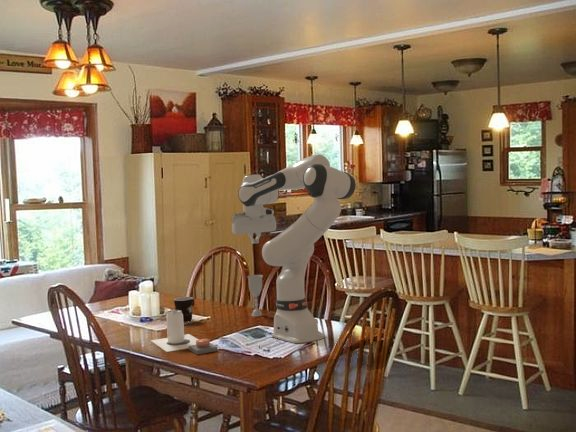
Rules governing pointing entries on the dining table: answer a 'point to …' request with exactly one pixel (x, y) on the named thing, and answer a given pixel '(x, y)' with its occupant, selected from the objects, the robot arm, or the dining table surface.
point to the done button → (202, 342)
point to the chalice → (255, 291)
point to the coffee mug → (185, 307)
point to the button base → (203, 349)
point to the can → (175, 327)
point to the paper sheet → (174, 347)
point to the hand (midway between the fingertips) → (254, 243)
